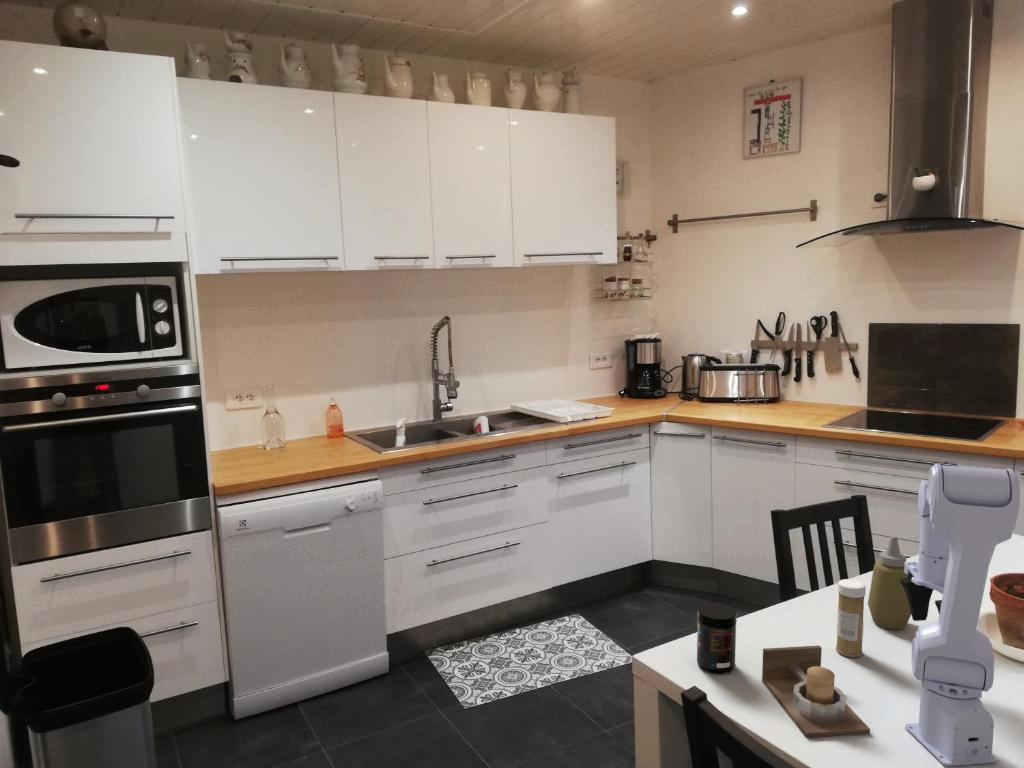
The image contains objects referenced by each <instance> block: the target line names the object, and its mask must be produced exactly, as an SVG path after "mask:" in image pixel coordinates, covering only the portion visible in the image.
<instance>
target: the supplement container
mask: <svg viewBox="0 0 1024 768" xmlns="http://www.w3.org/2000/svg"><path fill="white" fill-rule="evenodd" d="M737 616H738V615H737V610H736V609H735V608H734V607H732V606H730V605H728V604H724V603H720V602H706V603H703V604H700V605H698V607H697V617H696V618H697V633H696V634H697V635H696V636H697V637H696V641H697V642H696V645H697V646H696V662H697V665H698V666H699V667H700V669H702V670H703V671H705V672H708V673H710V674H716V675H724V674H728V673H730V672H732V671H733V670H734V669H735V666H736V649H737V647H736V643H737V642H736V640H737V638H736V637H737Z"/></svg>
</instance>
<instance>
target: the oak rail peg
mask: <svg viewBox="0 0 1024 768" xmlns="http://www.w3.org/2000/svg"><path fill="white" fill-rule="evenodd" d="M834 687H835V673H834V672H833V671H832V670H830V669H829V668H826V667H823V666H821V667H810V668H808V670H807V689H806V699H807V700H809V701H811V702H814V703H818V704H823V705H828V704H833V701H834Z"/></svg>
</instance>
